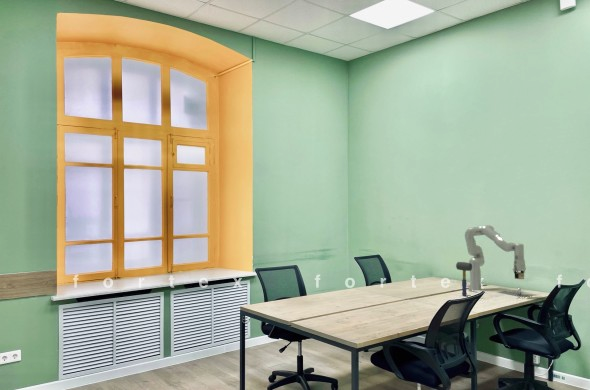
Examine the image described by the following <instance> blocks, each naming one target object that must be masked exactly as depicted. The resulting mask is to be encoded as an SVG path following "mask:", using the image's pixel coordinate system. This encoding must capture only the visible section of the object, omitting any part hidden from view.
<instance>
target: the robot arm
mask: <svg viewBox="0 0 590 390" xmlns="http://www.w3.org/2000/svg"><path fill="white" fill-rule="evenodd" d="M477 236H479V237H480V236H485V237H487V238H488V239H489V240H491V241H493V243H494V244H495V245H496V246H497V247H498V248H500V249H501V250H503V252H506V253H509V252H513V254H514V255H513V256H514V257H513V258H514V260H513V268H512V271H513V274H514V279H515V278H518V272H521V273H524V274H525V272H526V268H527V267H526V260H525V245H524V243H520V242H519V243H514V242H507V241H505V240H504V239H503V238H502V237H501V234H500V233H499V232H498V231H497V230H495V228H494V227H493V226H492V225H489V224H487V225H480V226H472V227H469V228H467V229H466V230H465V232H464V238H465V239H464V240H465V244H466V248H467V252H468V254H469V256H471V258H470V259H469V261H468V263H471V264H472V270H471V271H469V284H468V285H467V286H466V288H468V291H469V290H471V291H470V292H473V291H481V290H483V289H482V271H481V270H482V269H481V267H482V266H484V264H485V256H484V253H483V251H484V250H483V249H482V247H481V246H480V245H478V244H477V243H476V239H475V237H477Z"/></svg>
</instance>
